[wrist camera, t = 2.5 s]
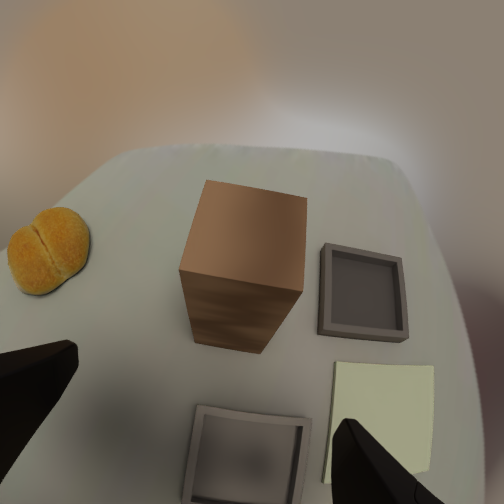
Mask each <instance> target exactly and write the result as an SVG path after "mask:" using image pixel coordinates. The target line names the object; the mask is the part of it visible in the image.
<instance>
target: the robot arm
mask: <svg viewBox="0 0 504 504" xmlns="http://www.w3.org/2000/svg"><path fill="white" fill-rule="evenodd" d="M78 365H79V359H78V346H77V344H76V343H74V342H72V341H70V340H62V341H57V342H53V343H48V344H44V345H39V346H35V347H30V348H25V349H21V350H16V351H11V352H6V353H1V354H0V484H1V482H2V481H3V479H4V477H5V476H6V474H7V473H8V471H9V470H10V468H11V467H12V465H13V464H14V462H15V461H16V459H17V458H18V456H19V455H20V453H21V452H22V450H23V449H24V448H25V446H26V445H27V443H28V442H29V440H30V439H31V438H32V436H33V435H34V433H35V432H36V431H37V429H38V428H39V426H40V425H41V424H42V422H43V421H44V419H45V418H46V417H47V415H48V414H49V413H50V411H51V410H52V409H53V407H54V406H55V405H56V403H57V402H58V400H59V399H60V397H61V396H62V394H63V392H64V391H65V389H66V387H67V385H68V384H69V382H70V380H71V379H72V377H73V375H74V374H75V372H76V370H77V368H78ZM331 486H332V499H333V504H444V503H443V502H442V501H441V500H439V499H438V498H437V497H435V496H434V495H433V494H432V493H431V492H430V491H429V490H427V489H426V488H425V487H424V486H423V485H422V484H421V483H420V482H419V481H417V479H416V478H415V477H414V476H413V475H411V474H410V473H409V472H408V471H407V470H406V469H405V468H404V467H403V466H402V465H401V464H400V463H399V462H398V461H397V460H396V459H395V458H394V457H393V456H392V455H391V454H390V453H389V452H388V451H387V450H386V449H385V448H384V447H383V446H382V445H381V444H380V443H379V442H378V441H377V440H376V439H375V438H374V437H373V436H372V435H371V434H370V433H369V432H368V431H367V430H366V429H365V428H364V427H363V426H362V425H361V424H360V423H359V422H358V421H357V420H356V419H351V418H344V419H343V420H342V421H341V423H340V424H339V426H338V428H337V429H336V431H335V433H334V435H333V438H332V459H331Z"/></svg>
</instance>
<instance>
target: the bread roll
mask: <svg viewBox="0 0 504 504" xmlns="http://www.w3.org/2000/svg"><path fill="white" fill-rule="evenodd" d="M88 249H89V230H88V227H87V225H86V223H85V222H84V220H83V219H82V218H81V217H80V215H79V214H77V213H76V212H74V211H72V210H71V209H68V208H64V207H56V208H50V209H47V210H44V211H42V212H41V213H40V214H38V215H37V216H36V217H35V219H34V220H33V222H32V223H31V224H30V225H29V226H25V227H22V228H21V229H19V230H18V231H17V232H15V233H14V234H13V235H12V237H11V240H10V242H9V245H8V249H7V253H8V265H9V269H10V271H11V274H12V277H13V280H14V282H15V284H16V286H17V288H18V289H19V290H20V291H21V292H22V293H24V294H32V295H42V294H46V293H49V292H51V291H52V290H54V289H55V288H57V287H58V286H59V285H60V284H62V283H63V282H64V281H65V280H66V279H68V278H70V277H72V276H73V275H74V274H76V273H77V272H78V271H79V270H80V269H81V268H82V267H83V266H84V265H85V263H86V260H87V256H88Z"/></svg>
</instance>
